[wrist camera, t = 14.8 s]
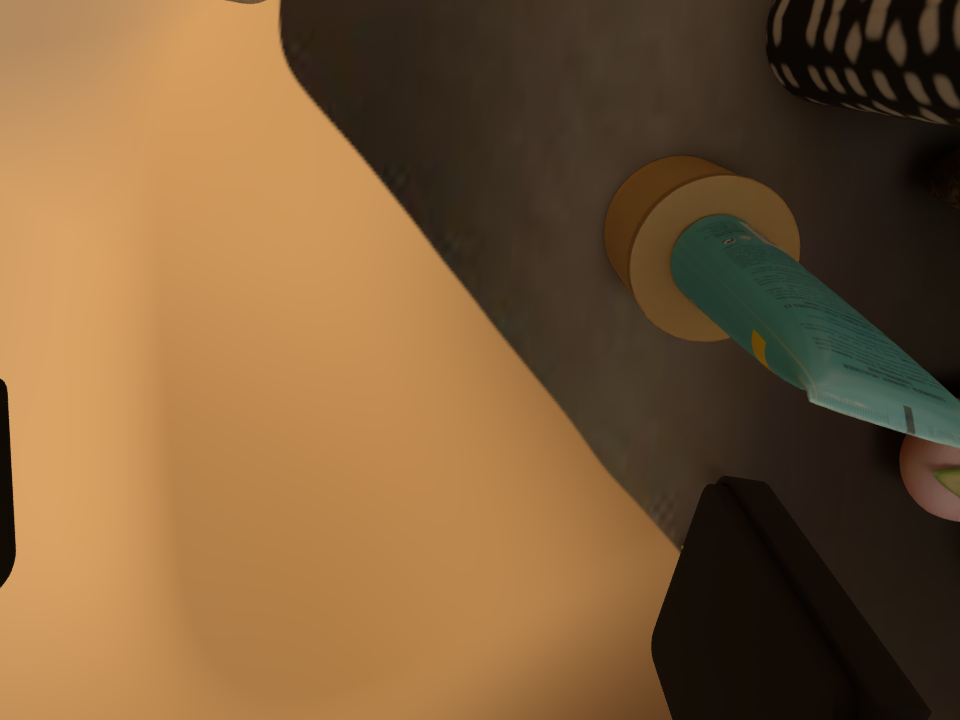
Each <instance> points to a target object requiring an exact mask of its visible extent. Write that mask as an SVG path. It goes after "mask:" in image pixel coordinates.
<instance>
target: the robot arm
mask: <svg viewBox="0 0 960 720" xmlns="http://www.w3.org/2000/svg"><path fill="white" fill-rule="evenodd" d="M15 556H16V544H15V525H14V506H13V487H12V469H11V450H10V431H9V411H8V392H7V386H6V385H5V382H4V381H3V380H1V379H0V587H1V586H2V585H3V584H4V583H5V581H6V580H7V578H8V577H9V575H10V573H11V571H12V568H13V565H14V561H15ZM651 643H652V644H651V645H652V646H651V650H652V658H653V662H654V664H655V668H656V670H657V674H658V677H659V680H660V683H661V686H662V689H663V692H664V695H665V698H666V701H667V704H668V707H669V710H670V713H671V716H672V719H673V720H927V719H928V717H929V716H930V714H931V710H930V709H929V708H928V706H927V705H926V704H925V702H924V701H923V699H922V698H921V697H920V695H919V694H918V692H917V691H916V690H915V688H914V687H913V685H912V684H911V683H910V681H909V680H908V679H907V677H906V676H905V674H904V673H903V672H902V670H901V669H900V667H899V666H898V665H897V663H896V662H895V660H894V659H893V658H892V656H891V655H890V653H889V652H888V651H887V649H886V648H885V647H884V645H883V644H882V642H881V641H880V640H879V638H878V637H877V635H876V634H875V633H874V631H873V630H872V628H871V627H870V626H869V624H868V623H867V622H866V620H865V619H864V617H863V616H862V615H861V613H860V612H859V610H858V609H857V608H856V606H855V605H854V603H853V602H852V601H851V599H850V598H849V596H848V595H847V594H846V592H845V591H844V590H843V588H842V587H841V585H840V584H839V583H838V581H837V580H836V578H835V577H834V576H833V574H832V573H831V571H830V570H829V569H828V567H827V566H826V565H825V563H824V562H823V560H822V559H821V558H820V556H819V555H818V553H817V552H816V551H815V549H814V548H813V546H812V545H811V544H810V542H809V541H808V539H807V538H806V537H805V535H804V534H803V533H802V531H801V530H800V528H799V527H798V526H797V524H796V523H795V521H794V520H793V519H792V517H791V516H790V514H789V513H788V512H787V510H786V509H785V508H784V506H783V505H782V503H781V502H780V501H779V499H778V498H777V496H776V495H775V494H774V492H773V491H772V489H771V488H770V487H769V485H767V484H766V483H765V482H762V481H756V480H749V479H742V478H736V477H729V476H723V477H721V478H720V479H719V480H718V481H717V483H716V485H714V484H709V485H707V486H706V487H705V488H704V490H703V492H702V494H701V497H700V500H699V503H698V505H697V508H696V511H695V514H694V517H693V520H692V523H691V525H690V528H689V531H688V534H687V537H686V540H685V542H684V545H683V548H682V551H681V554H680V557H679V560H678V563H677V566H676V568H675V571H674V574H673V577H672V580H671V582H670V585H669V588H668V591H667V594H666V597H665V599H664V602H663V605H662V608H661V611H660V614H659V617H658V619H657V622H656V626H655V628H654V631H653V635H652V642H651Z"/></svg>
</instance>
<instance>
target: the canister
mask: <svg viewBox="0 0 960 720" xmlns="http://www.w3.org/2000/svg"><path fill="white" fill-rule="evenodd" d="M713 215H731V216H735V217H737V218H740V219H742V220H744V221H745V222H747V223H748V224H750V225H751V226H752V227H754V228H755V229H756V230H758V231H759V232H760V233H762V234H763V235H764V236H765V237H767V238H768V239H769V240H770V241H772V242H773V243H774V244H776V245H777V246H778V247H779V248H781V249H782V250H783V251H784V252H786V253H787V254H788V255H789V256H791V257H792V258H793V259H794V260H796V261H797V262H798V263H799V257H800V239H799V232H798V228H797V224H796V221H795V219H794V217H793V214H792V212H791V211H790V209H789V207H788V206H787V204H786V203H785V202H784V201H783V200H782V198H781V197H780V196H779V195H778V194H777V193H775V192H774V191H773V190H772V189H770V188H769V187H767V186H766V185H764V184H762V183H760V182H758V181H756V180H753V179H751V178H749V177H745V176H742V175H738V174H736V173H733V172H731V171H729V170H727V169H725V168H723V167H720V166H718V165H716V164H714V163H712V162H709V161H707V160H705V159H701V158H697V157H692V156H673V157H667V158H663V159H660V160H657V161H654V162H652V163H649V164H647V165H646V166H644V167H642V168H641V169H639V170H638V171H636V172H635V173H634V174H633V175H631V176H630V177H629V178H628V179H627V180H626V181H625V182H624V183H623V185H622V186H621V187H620V188H619V190H618V191H617V193H616V194H615V196H614V197H613V199H612V202H611V204H610V206H609V208H608V212H607V215H606V219H605V224H604V244H605V248H606V253H607V255H608V258H609V261H610V263H611V264H612V266H613V268H614V270H615V271H616V272H617V274H618V275H619V277H620V278H621V279H622V281H623V282H624V283H625V285H626V286H627V288H628V289H629V290H630V292H631V293H632V295H633V297H634V299H635V301H636V303H637V304H638V306H639V307H640V309H641V310H642V311H643V313H644V314H645V316H646V317H647V318H648V319H649V320H650V321H651V322H652V323H653V324H654V325H656V326H657V327H658V328H660V329H661V330H663V331H665V332H666V333H668V334H670V335H673V336H675V337H678V338H681V339H685V340H689V341H698V342H708V341H718V340H723V339H727V338H731V337H730V336H729V335H728V334H727V333H725V332H724V331H723V330H722V329H721V328H720V327H719V326H718V325H717V324H715V323H714V322H713V321H712V320H711V319H710V318H709V317H708V316H707V315H706V314H704V313H703V312H702V311H701V310H700V309H699V308H698V307H697V306H696V305H695V304H694V303H692V302H691V301H690V300H689V299H688V298H687V297H686V296H685V295H684V294H683V293H682V292H681V291H680V290H679V288H678V287H677V286H676V284H675V282H674V279H673V277H672V273H671V256H672V252H673V248H674V246H675V244H676V242H677V240H678V239H679V237H680V236H681V234H682V233H683V232H684V231H685V230H686V229H687V228H688V227H689V226H691V225H692V224H694V223H695V222H697V221H698V220H700V219H702V218H705V217H709V216H713Z"/></svg>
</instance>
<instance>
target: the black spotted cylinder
mask: <svg viewBox="0 0 960 720" xmlns="http://www.w3.org/2000/svg"><path fill="white" fill-rule="evenodd" d="M766 50H767V54H768V59H769V63H770V65H771V67H772V70H773V72H774V74H775V76H776V77H777V79H778V80H779V81H780V83H781V84H782V85H783V86H784V87H785V88H786V89H787V90H788V91H790V92H791V93H792V94H793V95H795V96H797V97H799V98H801V99H803V100H806V101H810V102H814V103H819V104H825V105H831V106H837V107H843V108H849V109H855V110H861V111H867V112H873V113H878V114H884V115H890V116H896V117H902V118H908V119H914V120H920V121H926V122H932V123H938V124H944V125H950V126H955V127H960V0H775V1H774V3H773V6H772V9H771V11H770V14H769V17H768V23H767V30H766Z"/></svg>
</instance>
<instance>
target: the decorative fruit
mask: <svg viewBox="0 0 960 720" xmlns="http://www.w3.org/2000/svg"><path fill="white" fill-rule="evenodd" d="M957 399H958V400H959V401H960V398H957ZM899 460H900V471H901V476H902V479H903V482H904V484H905V486H906V488H907V490H908V492H909V494H910V495H911V496H912V497H913V499H914V500H915V501H916V502H917V504H919V505H920V506H921V507H922V508H924V509H925V510H926V511H927V512H929V513H931V514H933V515H936V516H938V517H941V518H944V519H948V520H953V521H960V449H957V448H953V447H950V446H947V445H943V444H939V443H935V442H932V441H929V440H925V439H921V438H918V437H915V436H912V435H909V434H906V436H905V438H904V441H903V443H902V446H901V450H900V459H899Z"/></svg>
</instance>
